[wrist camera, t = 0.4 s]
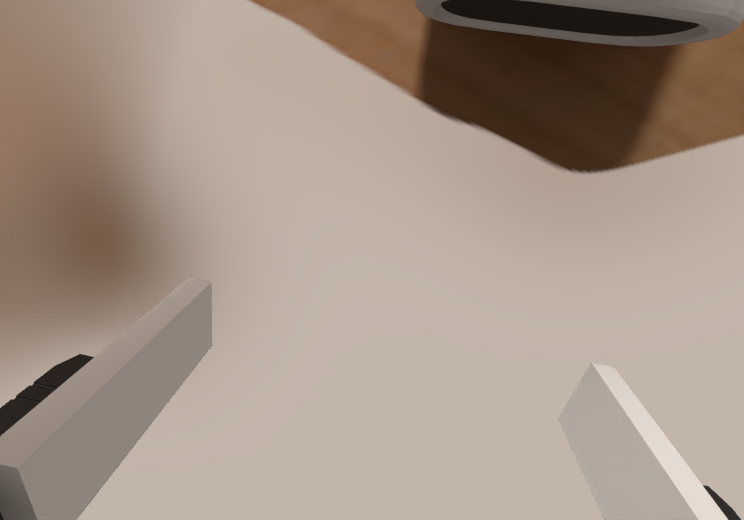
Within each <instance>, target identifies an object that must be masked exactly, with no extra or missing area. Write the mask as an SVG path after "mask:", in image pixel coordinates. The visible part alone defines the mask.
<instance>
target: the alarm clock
mask: <svg viewBox="0 0 744 520" xmlns="http://www.w3.org/2000/svg"><path fill="white" fill-rule="evenodd" d="M415 3H416V6H417V8H418V10H419V11H420V12H421V13H422V14H424V15H425V16H427V17H429V18H432V19H434V20H437V21H440V22H444V23H448V24H451V25H457V26H464V27H471V28H477V29H484V30H492V31H500V32H508V33H516V34H524V35H532V36H540V37H548V38H556V39H564V40H572V41H580V42H589V43H599V44H609V45H618V46H668V45H679V44H687V43H694V42H700V41H706V40H710V39H714V38H719V37H721V36H723V35H726V34H728V33H730V32H732V31H734V30H735V29H737V28H738V27H739V26H740V24H741V23H742V21H743V19H744V0H415Z"/></svg>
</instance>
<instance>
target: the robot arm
mask: <svg viewBox="0 0 744 520" xmlns="http://www.w3.org/2000/svg"><path fill="white" fill-rule="evenodd" d="M211 294H212V290H211V282H209V281H204V280H199V279H194V278H188V279H187V280H186V281H184V282H183V283H182V284H181V285H180V286H179V287H177V288H176V289H175V290H174V291H173V292H171V293H170V294H169V295H168V296H167V297H165V298H164V299H163V300H162V301H161V302H159V303H158V304H157V305H156V306H155V307H154V308H152V309H151V310H150V311H149V312H148V313H147V314H145V315H144V316H143V317H142V318H140V319H139V320H138V321H137V322H136V323H135V324H133V325H132V326H131V327H130V328H129V329H128V330H126V331H125V332H124V333H123V334H121V335H120V336H119V337H118V338H117V339H115V340H114V341H113V342H112V343H111V344H109V345H108V346H107V347H106V348H105V349H104V350H102V351H101V352H100V353H99V354H98V355H96V356H95V357H91V356H87V355H82V354H79V355H77V356H75V357H73V358H71V359H69V360H67V361H64V362H62V363H60V364H58V365H56V366H54V367H53V368H52V369H50V370H49V371H48V372H46V373H45V374H44V375H43V376H41V377H40V378H39V379H37V380H36V381H35V382H34V384H33V385H32V386H28V387H27V388H26V389H25V390H23V391H22V392H21V393H19V394H18V395H17V396H16V398H15V399H14V400H10V401H9V402H8V403H6V404H5V405H4V406H2V407H1V408H0V520H77V519H78V517H79V516H80V515H81V513H82V512H83V511H84V510H85V508H86V507H87V506H88V504H89V503H90V502H91V501H92V499H93V498H94V497H95V495H96V494H97V493H98V492H99V490H100V489H101V488H102V486H103V485H104V484H105V483H106V481H107V480H108V479H109V477H110V476H111V475H112V474H113V472H114V471H115V470H116V468H117V467H118V466H119V465H120V463H121V462H122V461H123V459H124V458H125V457H126V456H127V454H128V453H129V452H130V450H131V449H132V448H133V447H134V445H135V444H136V442H137V441H138V440H139V439H140V438H141V436H142V435H143V434H144V432H145V431H146V430H147V429H148V427H149V426H150V425H151V423H152V422H153V421H154V420H155V418H156V417H157V416H158V414H159V413H160V412H161V411H162V409H163V408H164V407H165V405H166V404H167V403H168V402H169V400H170V399H171V398H172V396H173V395H174V394H175V393H176V391H177V390H178V389H179V387H180V386H181V385H182V383H183V382H184V381H185V380H186V378H187V377H188V376H189V375H190V373H191V372H192V371H193V370H194V368H195V367H196V366H197V364H198V363H199V362H200V361H201V359H202V358H203V357H204V355H205V354H206V353H207V352H208V350H209V349H210V348H211V346H212V295H211ZM558 420H559V422H560V424H561V427H562V429H563V431H564V433H565V435H566V437H567V439H568V442H569V444H570V446H571V448H572V450H573V453H574V455H575V457H576V459H577V461H578V463H579V466H580V468H581V470H582V472H583V474H584V477H585V479H586V481H587V483H588V485H589V487H590V489H591V492H592V494H593V496H594V498H595V500H596V502H597V505H598V507H599V509H600V511H601V513H602V516H603V517H604V520H741V519H740V518H739V517H738V516H737V514H736V513H735V511H734V510H733V509H732V508H731V507H730V506H729V505H728V504H727V503H726V502H725V501H724V500H723V499H721V498H720V497H719V496H718V495H717V494H716V493H715V492H714V491H713V490H712V489H711V488H710V487H708V486H704V485H702V484H701V483H700V481H699V480H698V479H697V477H696V476H695V475H694V473H693V472H692V471H691V469H690V468H689V467H688V466H687V464H686V463H685V461H684V460H683V459H682V457H681V456H680V455H679V453H678V452H677V451H676V450H675V448H674V447H673V446H672V444H671V443H670V441H669V440H668V439H667V438H666V436H665V435H664V434H663V432H662V431H661V429H660V428H659V427H658V425H657V424H656V423H655V421H654V420H653V419H652V418H651V416H650V415H649V413H648V412H647V411H646V409H645V408H644V407H643V406H642V404H641V403H640V401H639V400H638V399H637V397H636V396H635V395H634V393H633V392H632V391H631V389H630V388H629V387H628V386H627V384H626V383H625V381H624V380H623V379H622V378H621V376H620V375H619V373H618V372H617V371H616V370H615V368H614V367H611V366H605V365H601V364H596V363H591V364H590V366H589V368H588V369H587V371H586V372H585V374H584V376H583V378H582V379H581V381H580V383H579V384H578V386H577V388H576V389H575V391H574V393H573V394H572V396H571V398H570V399H569V401H568V403H567V404H566V406H565V408H564V410H563V411H562V413H561V415H560V416H559V418H558Z"/></svg>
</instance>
